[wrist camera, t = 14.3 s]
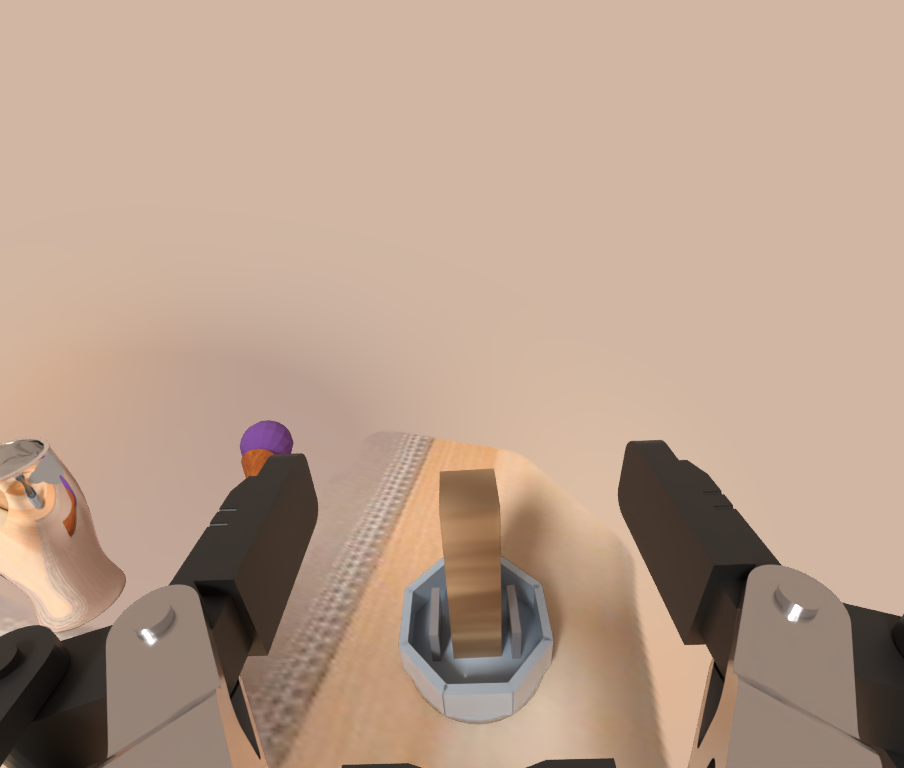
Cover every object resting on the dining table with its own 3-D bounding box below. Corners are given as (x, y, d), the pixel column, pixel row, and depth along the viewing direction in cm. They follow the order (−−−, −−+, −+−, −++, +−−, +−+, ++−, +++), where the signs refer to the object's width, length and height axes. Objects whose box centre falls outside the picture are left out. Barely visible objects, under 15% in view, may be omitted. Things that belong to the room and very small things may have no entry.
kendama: (171, 554, 36) (239, 418, 53) (209, 592, 39) (261, 453, 56) (238, 536, 36) (284, 406, 53) (270, 575, 39) (304, 441, 56)
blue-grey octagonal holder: (560, 722, 27) (564, 687, 25) (399, 726, 27) (391, 692, 25) (533, 580, 36) (535, 547, 34) (413, 584, 36) (408, 552, 35)
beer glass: (100, 632, 34) (-2, 490, 27) (10, 642, 34) (-115, 501, 27) (148, 562, 40) (74, 431, 34) (72, 570, 40) (-17, 440, 33)
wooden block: (501, 656, 30) (500, 507, 23) (453, 658, 30) (439, 510, 23) (496, 611, 33) (493, 468, 26) (452, 613, 33) (439, 471, 26)
